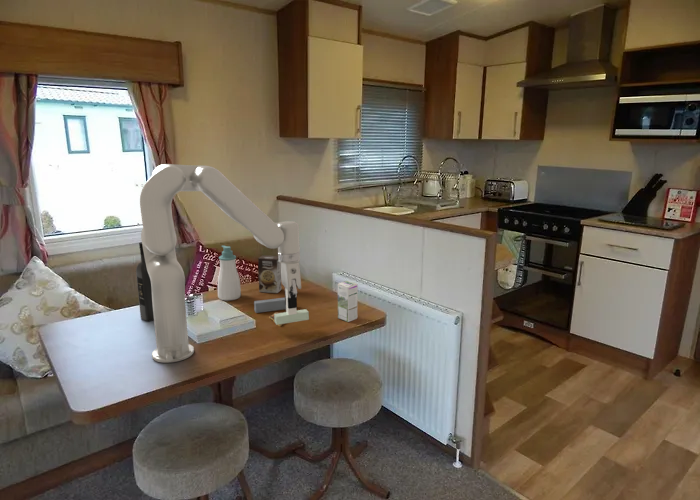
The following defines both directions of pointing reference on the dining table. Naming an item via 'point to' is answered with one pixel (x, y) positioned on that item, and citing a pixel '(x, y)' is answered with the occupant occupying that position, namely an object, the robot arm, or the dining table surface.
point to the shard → (273, 317)
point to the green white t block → (290, 314)
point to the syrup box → (347, 301)
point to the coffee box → (269, 274)
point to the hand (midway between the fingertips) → (291, 305)
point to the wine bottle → (144, 289)
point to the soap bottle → (228, 276)
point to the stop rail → (269, 305)
